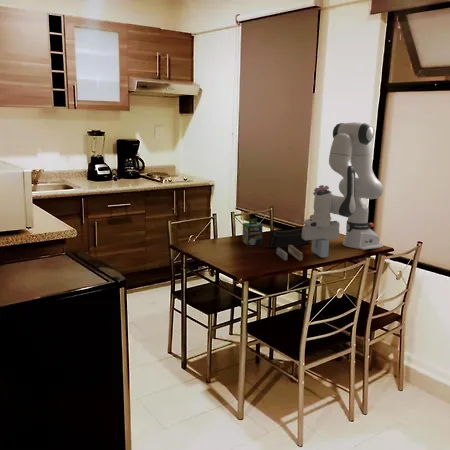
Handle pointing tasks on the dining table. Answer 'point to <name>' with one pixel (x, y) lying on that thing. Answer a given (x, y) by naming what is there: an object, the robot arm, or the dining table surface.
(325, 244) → the book
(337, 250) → the dining table surface
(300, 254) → the shelf wall
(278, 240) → the magazine
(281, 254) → the gray flat block
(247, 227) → the chalk box
